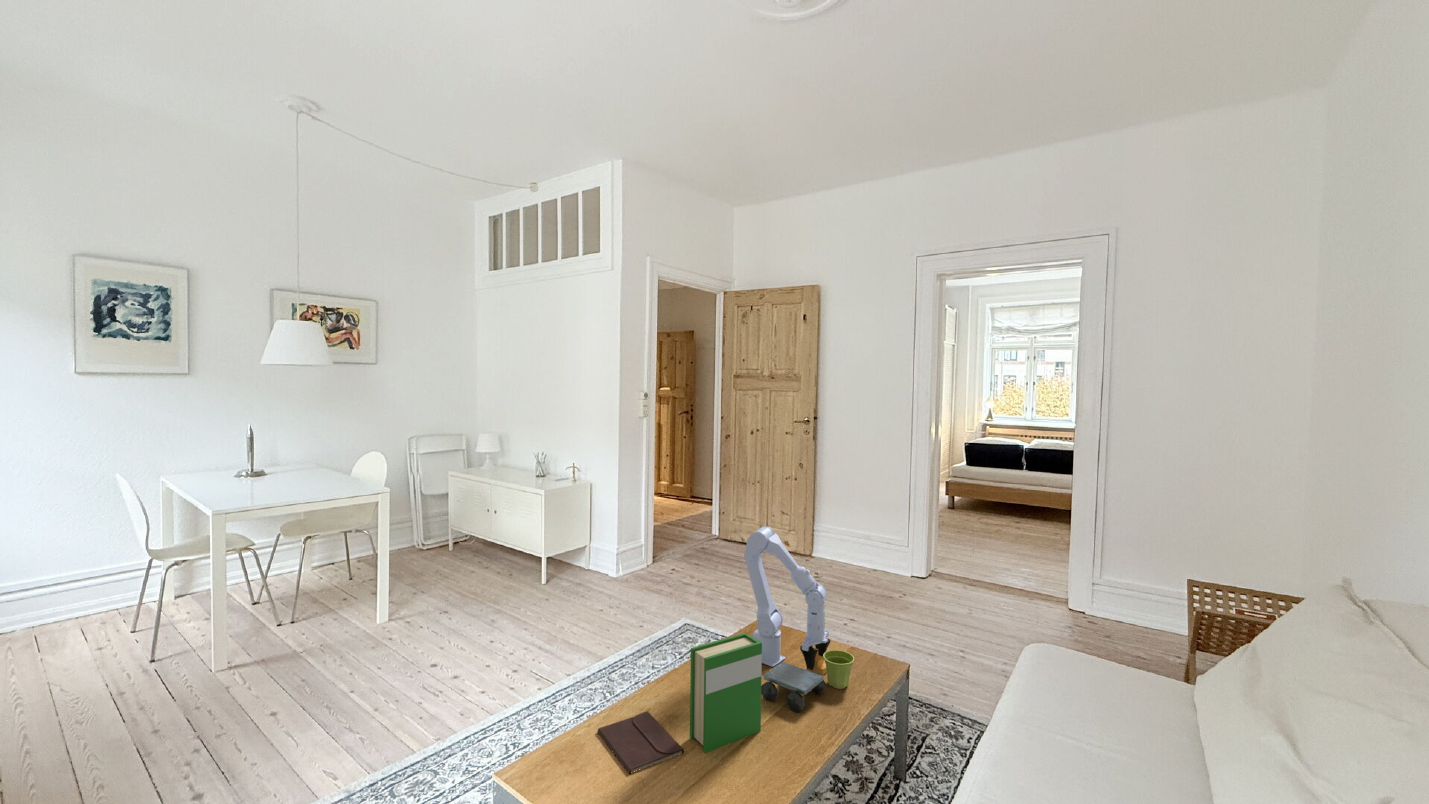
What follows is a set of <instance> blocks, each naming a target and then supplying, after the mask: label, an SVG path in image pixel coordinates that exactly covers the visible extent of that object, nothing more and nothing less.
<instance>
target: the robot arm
mask: <svg viewBox="0 0 1429 804" xmlns="http://www.w3.org/2000/svg"><path fill="white" fill-rule="evenodd" d="M763 553H766V554H771V555H775V556H776V558H778V560H779V561H780V562H781V563H782V564H783V566H785V567H786V569H787V570H788V571H789V572H790V579H791V580H792V581H793V583H794V584H795V585H796V587H797V588H798V589H799V590H800V592H802V594H803V595H804V596H805V598H804V600H805V602H806V604H807V612H806V614H807V615H806V634H805V638H804V641H803V642H802V643H801V645H800V647H799V649H800V652H801V653H802V656H803V659H804V663H805V666H806V669H807V668H808V669H810V670H813V668H814V663H815V657H816V654H817V652H818V655H819V656H822V657H823V654H824V653H825V652H827V651H828V647H829V646H830V644H831V639H830V638H828V637H829V635H830V630H829V629H826V627H825V626H826V606H825V605H826V602H825V601H826V599H827V597H828V592H827V589H826V587H825V586H824V585H822V584H820V583H819V582H818V581H816V580H815V578H814V577H813V576H812V575H811V571H810V569H808V568H806V567H805V566H801V565H799V564H798V562H797V561H796V560H795V558H794V557H793V556H792V555H791V553H790V552H789V550H788V549H787V548H786V546H785V545H784V544H783V542H782V541H781V539H780V536H779V535H778V534H777V533H776V532H775V531H774V530H773V528H772V527H770V526H768V525H763V526H761V527H760V528H758V529H757V530H756V531H754V532H752V533H751V534H750V535H749V537H748V538H747V539H746V546H745V550H744V552H743V554H744V555H743V556H744V561H745V564H746V569H747V572H748V575H749V579H750V583H751V586H752V592H753V594H754V596H755V597H754V598H755V601H756V605H757V610H756V619H757V625H756V627H757V628H756V629H755V630H754V631H753V634H752V635H751V636H752V637H753V638H755V639H757V640H758V641H760V642H762V664H763V665H767V666H769V667H771V668H772V667H773V668H775V667H776V666H778V665H779V664H780V663H782V662H784V660H786V657H785V656H784V655H781V646H782V644H781V642H782V641H781V639H782V637H781V634H782V632H781V629H780V627H781V626H782V625H783V622H784V617H783V615H782V613H781V612H780V610H779V609H778V605H777V604H776V603H774V600H773V597H772V593H771V589H770V586H769V582H768V579H767V576H766V571H765V568H764V565H763V561H762V557H761V556H763V555H762V554H763ZM813 646H814V647H813ZM814 648H816V649H818V650H815V649H814Z"/></svg>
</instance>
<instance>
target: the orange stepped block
mask: <svg viewBox="0 0 1429 804" xmlns="http://www.w3.org/2000/svg"><path fill="white" fill-rule="evenodd" d="M813 648H814V649H815V650H818V649H816V648H815V647H813ZM806 670H808V671H809V670H810V669H808V668H807V667H806ZM810 671H811V672H814V673H816V674H818V673H819V675H822V676H824V675H825V674H827V669H826V663H825V659H824V658H823V657H822V656H819V655H818V652H817V654H816V657H815V663H814V668H813V670H810Z"/></svg>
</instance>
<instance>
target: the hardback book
mask: <svg viewBox="0 0 1429 804" xmlns="http://www.w3.org/2000/svg"><path fill="white" fill-rule="evenodd" d="M762 664H763V663H762V642H760V641H758V640H757V639H755V638H753V637H752V635H750V634H748V633H746V632H743V633H740V634H736V635H732V636H729V637H725V638H721V639H719V640H715V641H710V642H707V643H703V644H700V645H697V646H693V647H690V680H689V681H690V683H689V684H690V685H689V687H690V689H689V691H690V692H689V693H690V694H689V695H690V696H689V697H690V699H689V706H690V707H689V739H690V741H693V740H696V741H697V742H699V743H700V744H701V745H702V746H703V747H702V748H703V749H702V752H703V753H704V754H707V753H710V752H712V751H714V750H717V749H720V748H722V747H724V746H726V745H730V744H731V743H732V744H733V743H734V742H737V741H739V740H742V739H744V738H747V737H750V736H751V735H754V734H757V733H759V732H761V730H762V729H761V725H762V694H761V686H762V670H763V669H762V668H763V667H762Z"/></svg>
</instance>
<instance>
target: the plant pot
mask: <svg viewBox="0 0 1429 804" xmlns="http://www.w3.org/2000/svg"><path fill="white" fill-rule="evenodd" d="M823 658H824V663H825V664H826V669H827V673H826V677H827V684H828V686H831V687H833V688H834V689H839V690H840V689H841V690H842V689H845V688H846V687H848V686H849V682H850V675H851V671H852V666H853V664H854V662H855V656H854V655H853V654H851V653H850V652H848V651H845V650H839V649H832V650H826V652H825V653H824V654H823Z"/></svg>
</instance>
